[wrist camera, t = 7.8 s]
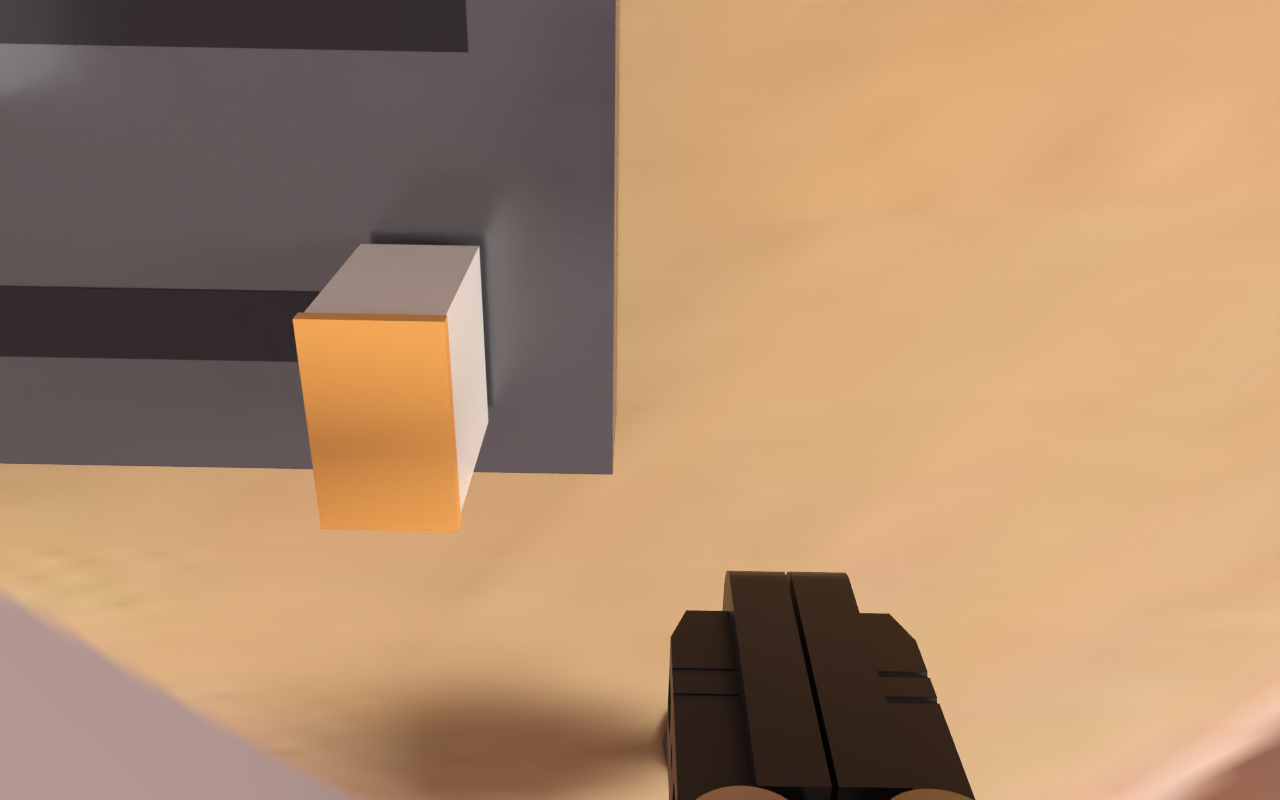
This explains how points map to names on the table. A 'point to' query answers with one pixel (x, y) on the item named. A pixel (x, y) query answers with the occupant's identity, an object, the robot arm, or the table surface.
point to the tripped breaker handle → (395, 387)
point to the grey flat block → (296, 214)
